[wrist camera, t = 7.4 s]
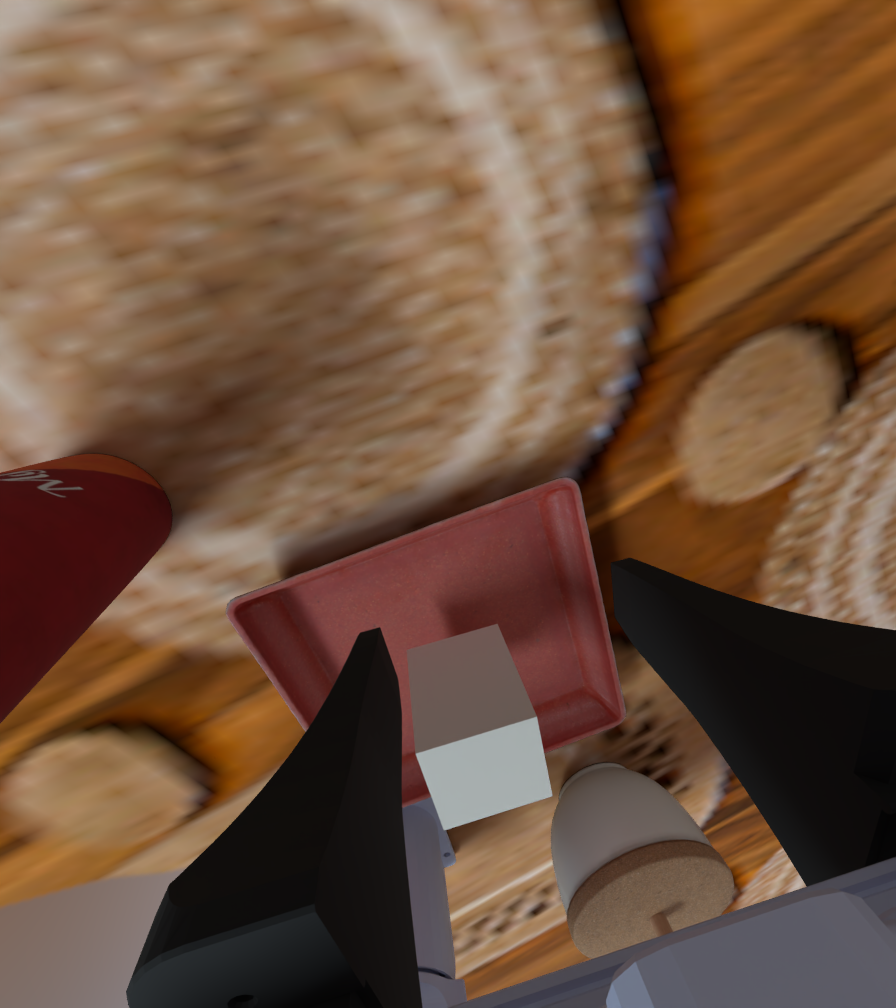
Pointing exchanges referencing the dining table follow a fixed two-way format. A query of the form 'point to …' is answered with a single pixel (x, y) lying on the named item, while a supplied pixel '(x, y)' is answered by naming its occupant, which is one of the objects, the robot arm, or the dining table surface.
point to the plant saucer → (453, 614)
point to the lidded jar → (631, 861)
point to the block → (474, 728)
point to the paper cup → (68, 556)
